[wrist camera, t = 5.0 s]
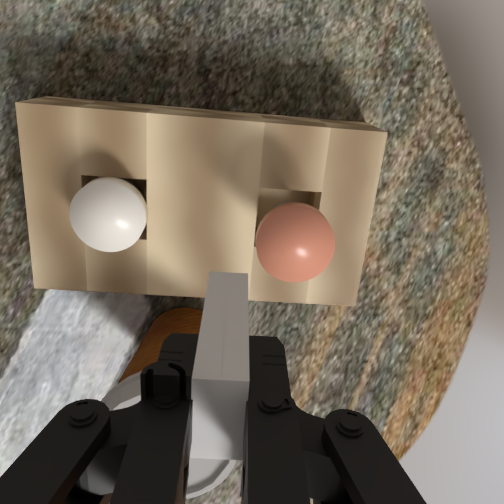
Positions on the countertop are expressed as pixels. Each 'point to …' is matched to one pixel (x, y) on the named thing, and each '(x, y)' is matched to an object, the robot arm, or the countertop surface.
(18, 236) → the countertop surface
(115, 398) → the disposable coffee cup
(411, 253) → the countertop surface
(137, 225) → the white mushroom knob
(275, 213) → the pink round-capped knob part
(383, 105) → the countertop surface
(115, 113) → the block
